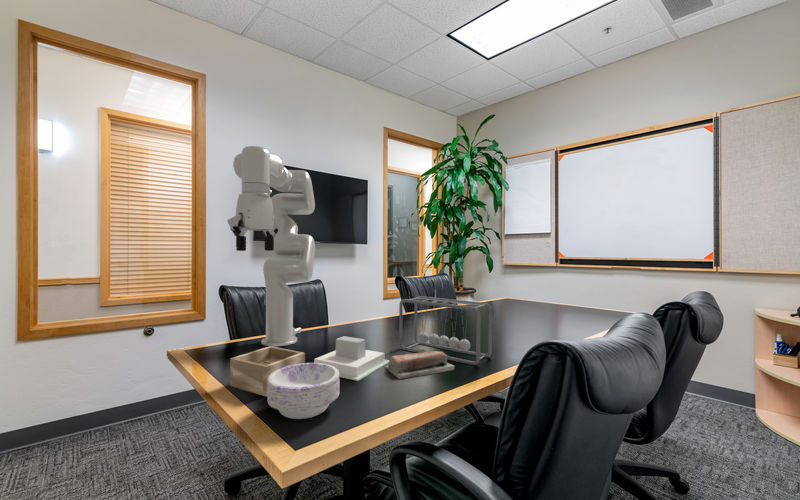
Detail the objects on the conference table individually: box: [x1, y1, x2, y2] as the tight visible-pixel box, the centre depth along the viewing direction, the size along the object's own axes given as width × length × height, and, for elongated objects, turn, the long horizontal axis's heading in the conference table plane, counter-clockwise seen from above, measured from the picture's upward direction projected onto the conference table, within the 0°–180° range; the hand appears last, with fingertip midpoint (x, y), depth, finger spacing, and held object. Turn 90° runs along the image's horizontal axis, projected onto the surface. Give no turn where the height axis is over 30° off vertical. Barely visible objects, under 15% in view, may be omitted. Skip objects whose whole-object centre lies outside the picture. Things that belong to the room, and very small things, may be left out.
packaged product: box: [384, 350, 455, 380], centre depth 104 cm, size 18×5×10 cm
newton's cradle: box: [398, 295, 493, 366], centre depth 119 cm, size 30×10×18 cm, turn 54°
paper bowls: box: [266, 362, 341, 420], centre depth 78 cm, size 15×15×8 cm
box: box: [229, 346, 306, 397], centre depth 93 cm, size 13×13×7 cm
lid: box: [313, 335, 386, 377], centre depth 106 cm, size 15×15×8 cm
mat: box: [339, 359, 390, 382], centre depth 106 cm, size 18×18×1 cm
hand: (255, 250), depth 102 cm, fingers open, 9 cm apart
